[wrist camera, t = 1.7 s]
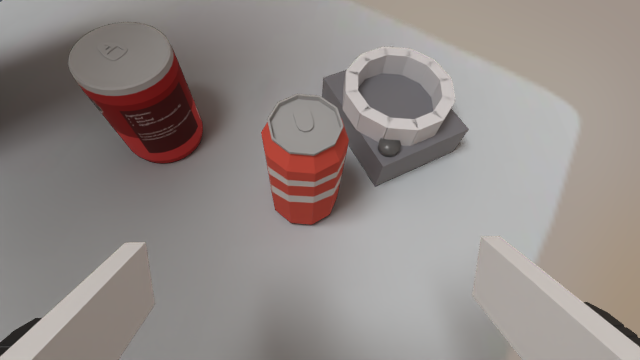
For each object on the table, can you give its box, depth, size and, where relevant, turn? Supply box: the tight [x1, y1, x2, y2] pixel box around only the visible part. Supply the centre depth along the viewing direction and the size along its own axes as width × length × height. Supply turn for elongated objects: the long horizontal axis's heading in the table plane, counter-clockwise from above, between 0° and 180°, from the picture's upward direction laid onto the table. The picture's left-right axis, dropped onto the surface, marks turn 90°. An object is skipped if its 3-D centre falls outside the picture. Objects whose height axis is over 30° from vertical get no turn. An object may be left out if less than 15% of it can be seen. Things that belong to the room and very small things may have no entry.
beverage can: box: [261, 94, 349, 225], centre depth 29 cm, size 6×6×12 cm
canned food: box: [68, 22, 203, 163], centre depth 32 cm, size 8×8×11 cm
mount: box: [322, 46, 469, 186], centre depth 36 cm, size 12×10×6 cm
